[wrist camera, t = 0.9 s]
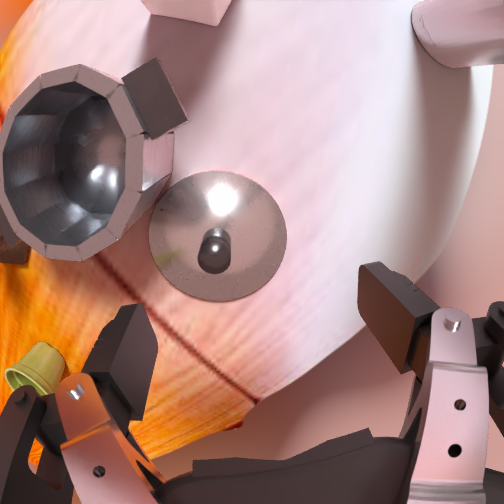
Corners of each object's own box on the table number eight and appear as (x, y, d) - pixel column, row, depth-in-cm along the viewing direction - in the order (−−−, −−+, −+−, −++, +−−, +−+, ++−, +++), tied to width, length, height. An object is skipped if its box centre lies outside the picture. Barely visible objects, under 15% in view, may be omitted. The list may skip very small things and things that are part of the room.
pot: (161, 43, 19) (129, 7, 11) (224, 168, 25) (219, 186, 17) (21, 150, 21) (-33, 164, 13) (74, 253, 27) (32, 295, 19)
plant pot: (19, 335, 32) (-5, 369, 24) (50, 329, 31) (24, 368, 23) (50, 375, 36) (32, 411, 28) (84, 374, 35) (66, 414, 27)
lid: (251, 145, 24) (255, 148, 20) (303, 265, 30) (315, 290, 25) (128, 209, 26) (108, 225, 21) (192, 312, 31) (187, 340, 27)
